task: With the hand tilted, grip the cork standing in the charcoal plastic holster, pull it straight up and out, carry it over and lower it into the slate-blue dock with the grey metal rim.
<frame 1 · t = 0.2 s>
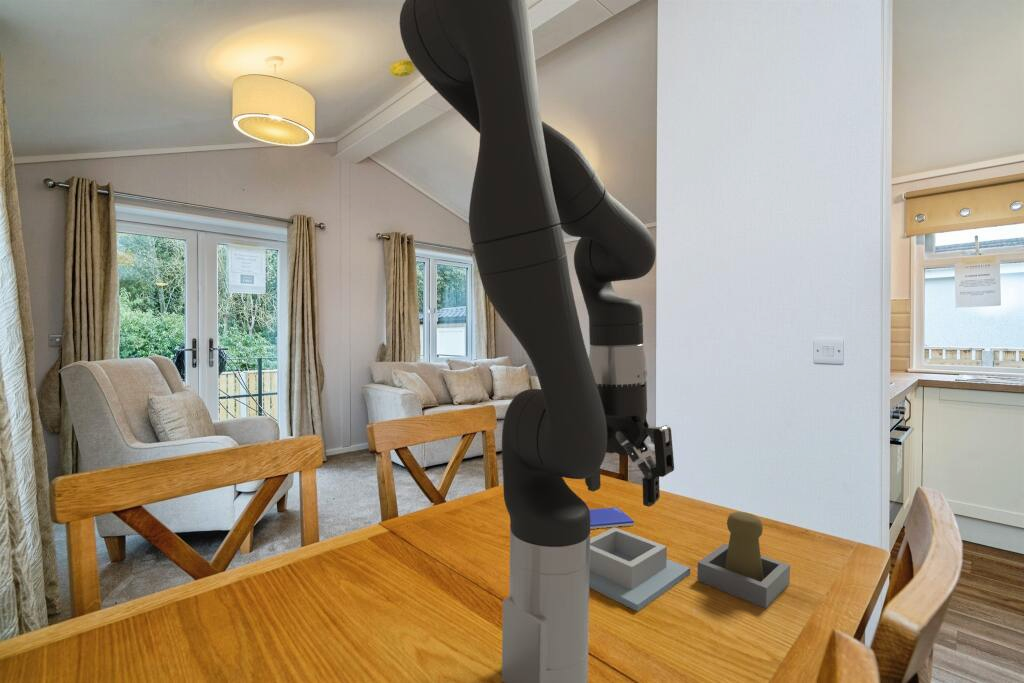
hand: (620, 496, 64), 18 cm above the table, tool pointing down, fingers open, 8 cm apart
cork: (743, 583, 77), resting in holster
holster: (743, 581, 77), on the table
dock: (621, 571, 80), on the table
blue book: (598, 523, 102), on the table
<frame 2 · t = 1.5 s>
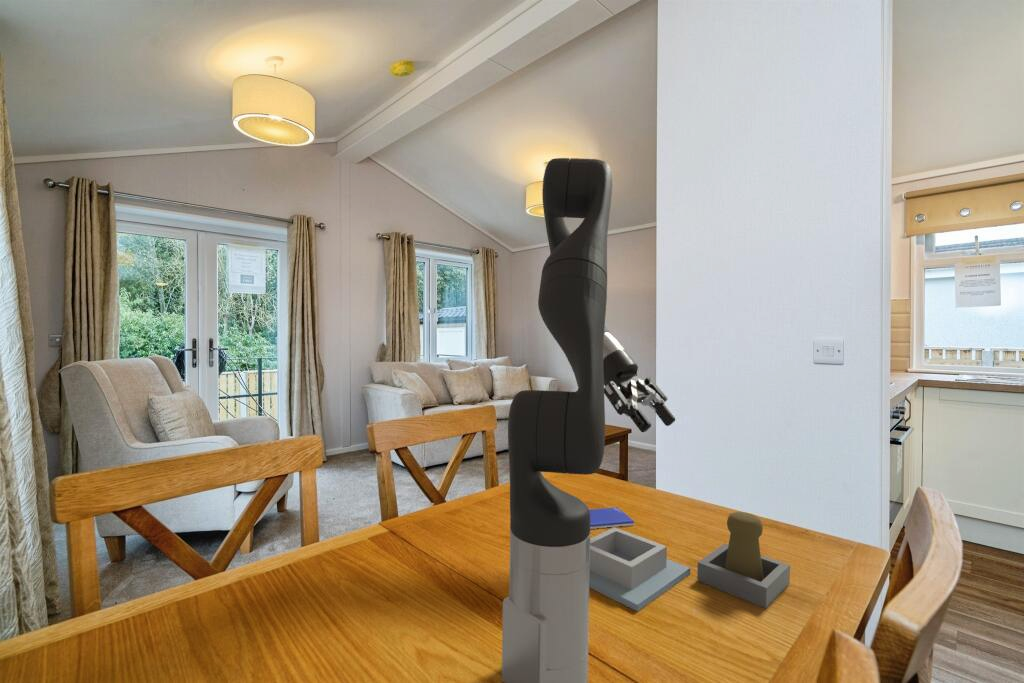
hand: (659, 426, 88), 23 cm above the table, tool tilted 45°, fingers open, 8 cm apart
nothing on the table moved.
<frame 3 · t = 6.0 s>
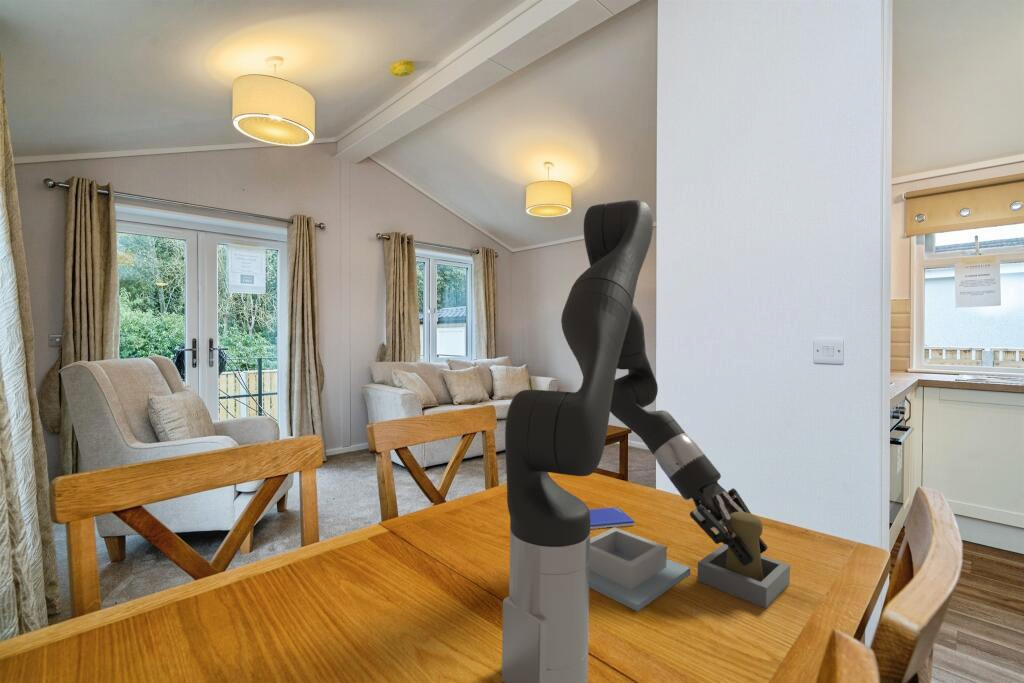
hand: (756, 556, 75), 5 cm above the table, tool tilted 45°, fingers closed on cork, 4 cm apart
cork: (743, 583, 77), resting in holster, touching gripper
everything else where it was.
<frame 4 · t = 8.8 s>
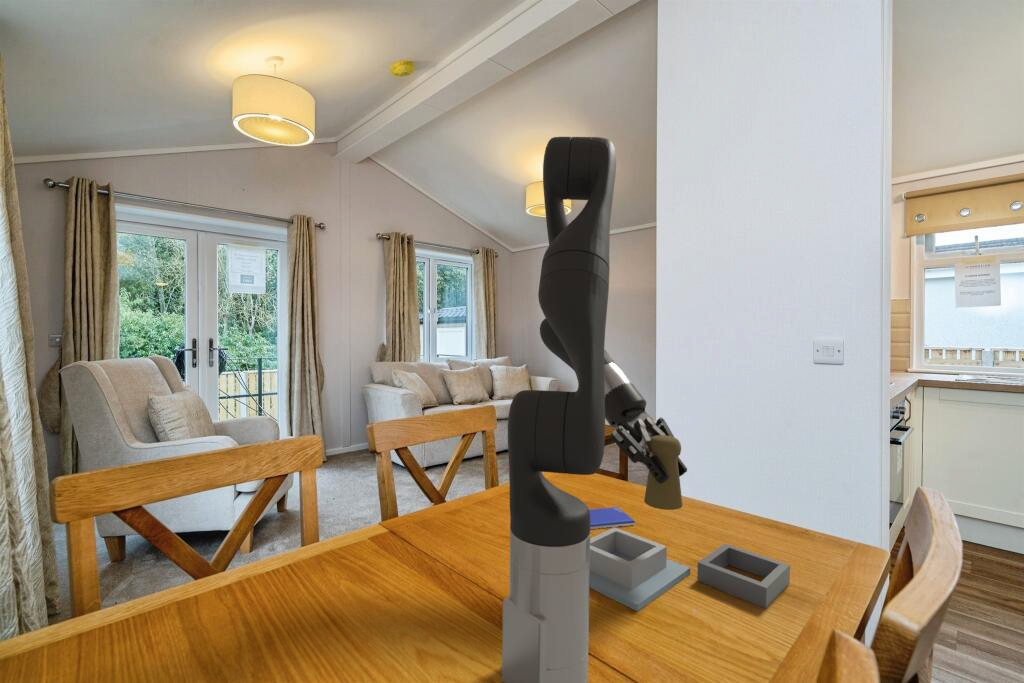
hand: (674, 476, 77), 17 cm above the table, tool tilted 45°, fingers closed on cork, 4 cm apart
cork: (663, 504, 78), point 12 cm above the table, touching gripper
everything else where it was.
when the fingers open (7 cm above the table, at t = 11.6 s): cork drops 1 cm, resting on dock.
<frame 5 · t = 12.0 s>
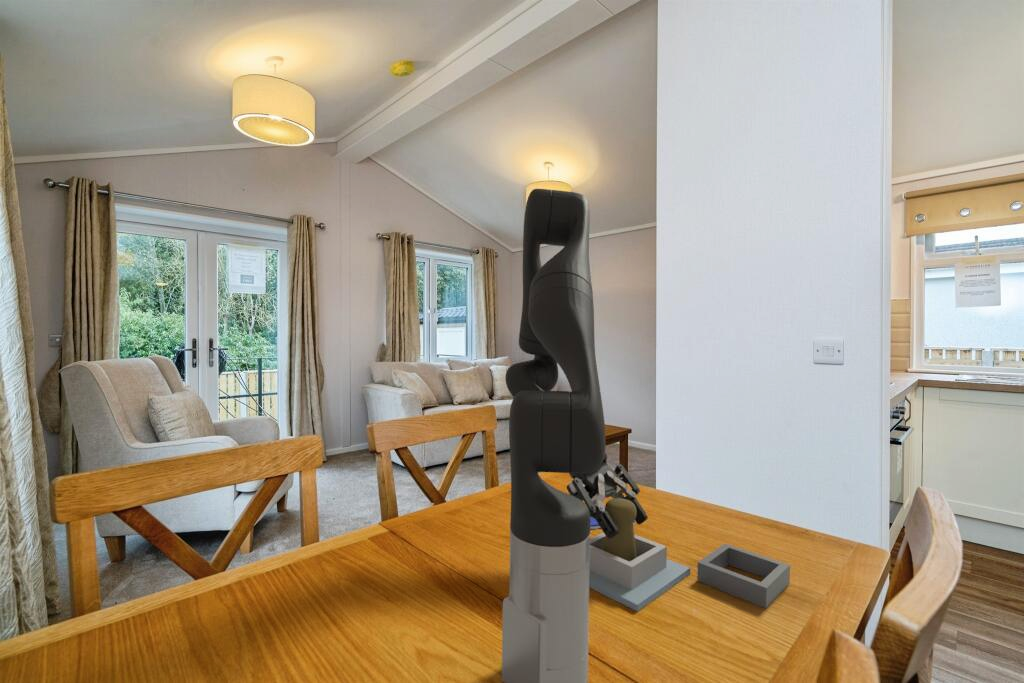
hand: (629, 528, 78), 8 cm above the table, tool tilted 45°, fingers open, 8 cm apart
cork: (619, 566, 80), point 1 cm above the table, touching dock
everything else where it was.
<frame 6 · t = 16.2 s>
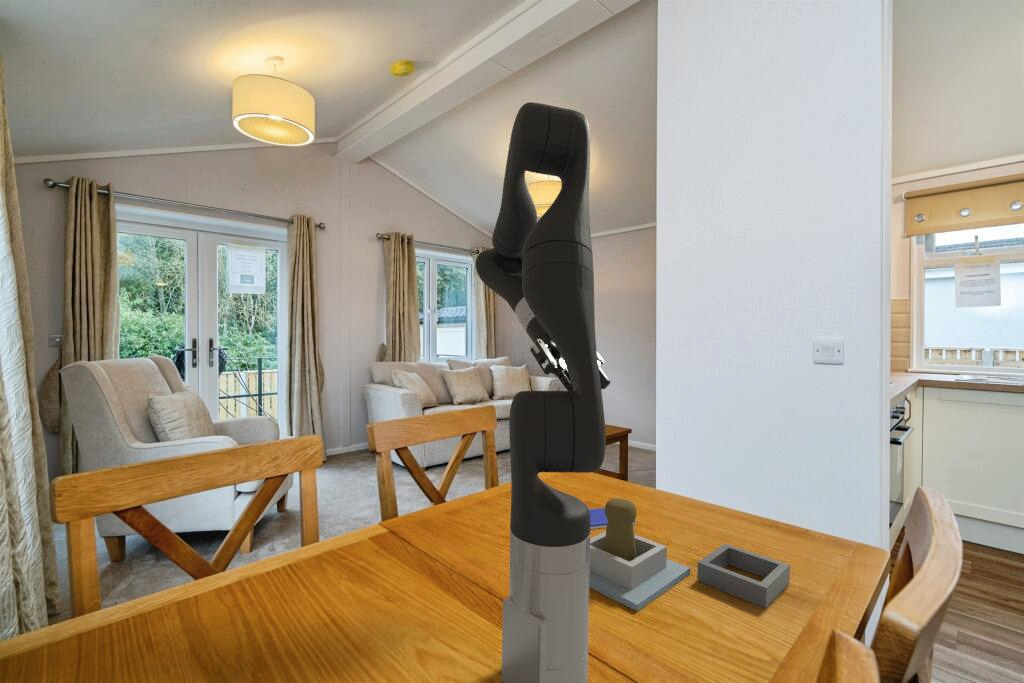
hand: (591, 388, 80), 31 cm above the table, tool tilted 45°, fingers open, 8 cm apart
nothing on the table moved.
at the end: cork 0.4 cm off-centre on the dock, point 0.8 cm above the dock's base; cork tilted 0°; the gripper is holding nothing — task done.
